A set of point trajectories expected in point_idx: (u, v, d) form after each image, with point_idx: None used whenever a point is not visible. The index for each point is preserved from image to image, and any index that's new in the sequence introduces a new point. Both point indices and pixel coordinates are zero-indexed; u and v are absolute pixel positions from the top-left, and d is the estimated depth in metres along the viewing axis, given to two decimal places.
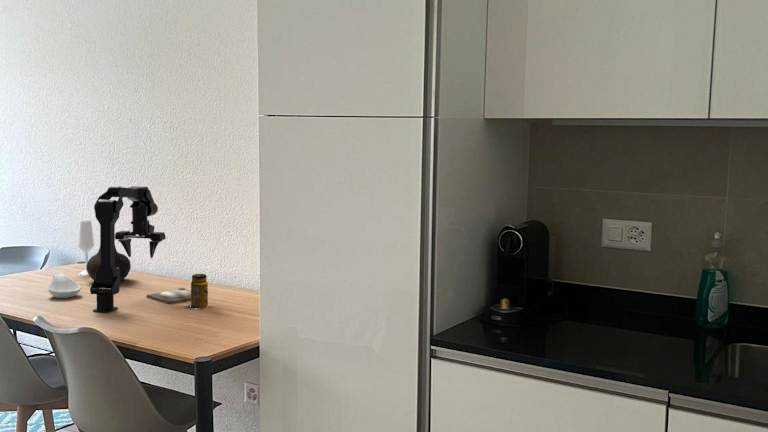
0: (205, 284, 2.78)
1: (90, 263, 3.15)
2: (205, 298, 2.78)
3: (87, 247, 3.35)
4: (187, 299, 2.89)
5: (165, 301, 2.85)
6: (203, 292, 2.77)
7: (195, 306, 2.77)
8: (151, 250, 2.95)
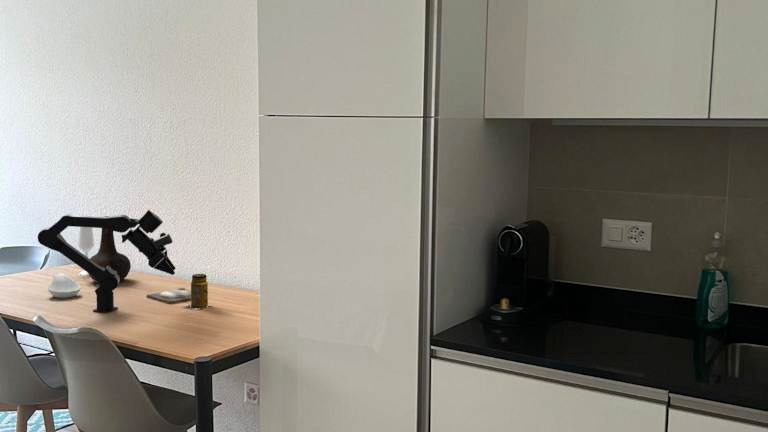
0: (205, 284, 2.78)
1: None
2: (205, 298, 2.78)
3: (87, 247, 3.35)
4: (187, 299, 2.89)
5: (165, 301, 2.85)
6: (203, 292, 2.77)
7: (195, 306, 2.77)
8: (164, 271, 2.70)
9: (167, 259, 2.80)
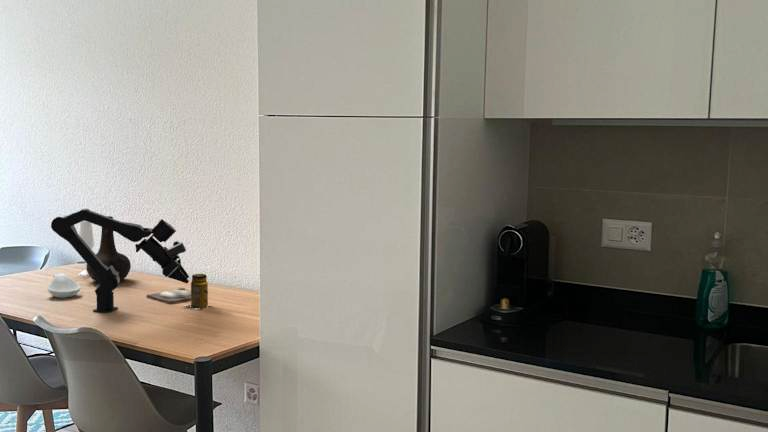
0: (205, 284, 2.78)
1: None
2: (205, 298, 2.78)
3: None
4: (187, 299, 2.89)
5: (165, 301, 2.85)
6: (203, 292, 2.77)
7: (195, 306, 2.77)
8: (178, 280, 2.72)
9: (181, 267, 2.81)
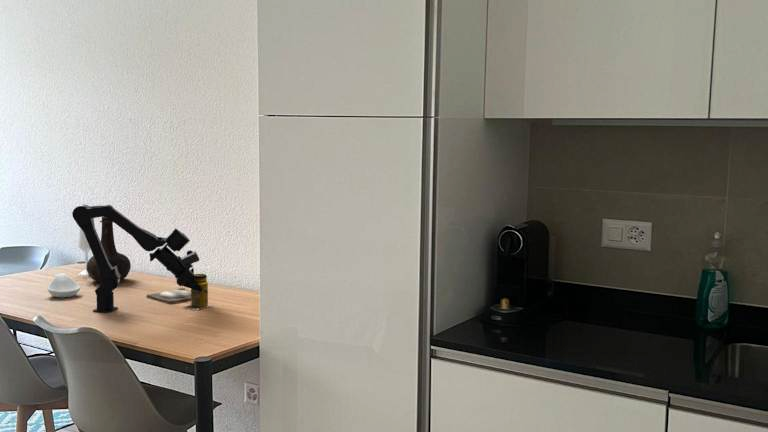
0: (205, 284, 2.78)
1: (90, 263, 3.15)
2: (205, 298, 2.78)
3: (87, 247, 3.35)
4: (187, 299, 2.89)
5: (165, 301, 2.85)
6: (203, 292, 2.77)
7: (195, 306, 2.77)
8: (191, 288, 2.75)
9: None
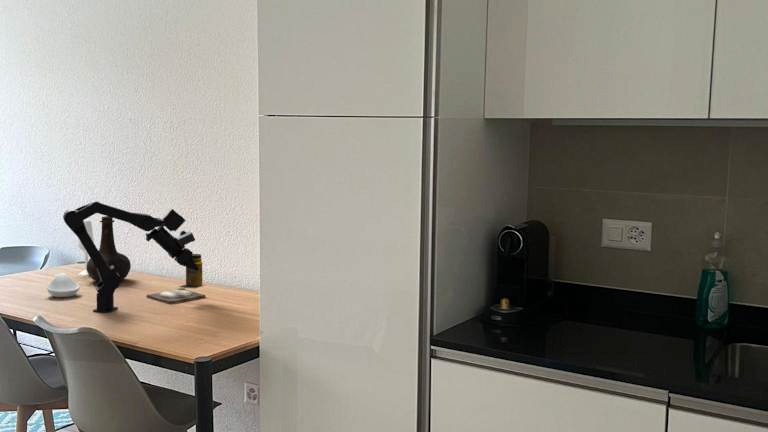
0: (201, 263, 2.83)
1: (90, 263, 3.15)
2: (201, 277, 2.84)
3: None
4: (187, 299, 2.89)
5: (165, 301, 2.85)
6: (199, 271, 2.83)
7: (191, 285, 2.82)
8: (188, 267, 2.80)
9: None
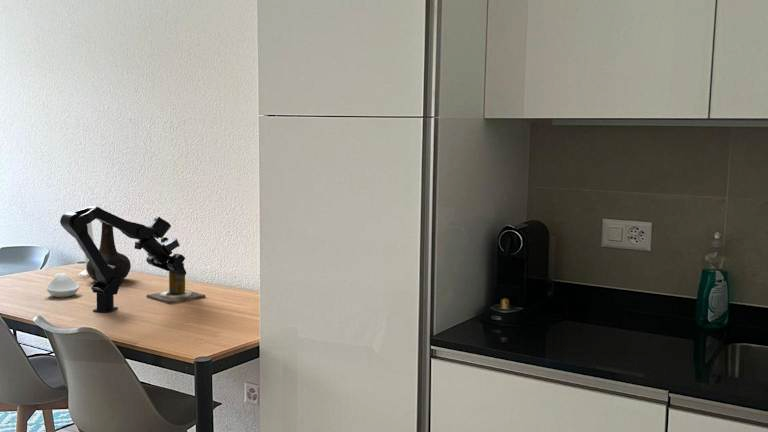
0: None
1: (90, 263, 3.15)
2: (184, 284, 2.94)
3: None
4: (187, 299, 2.89)
5: (165, 301, 2.85)
6: (184, 279, 2.93)
7: (177, 293, 2.92)
8: (179, 272, 2.88)
9: (165, 262, 2.95)
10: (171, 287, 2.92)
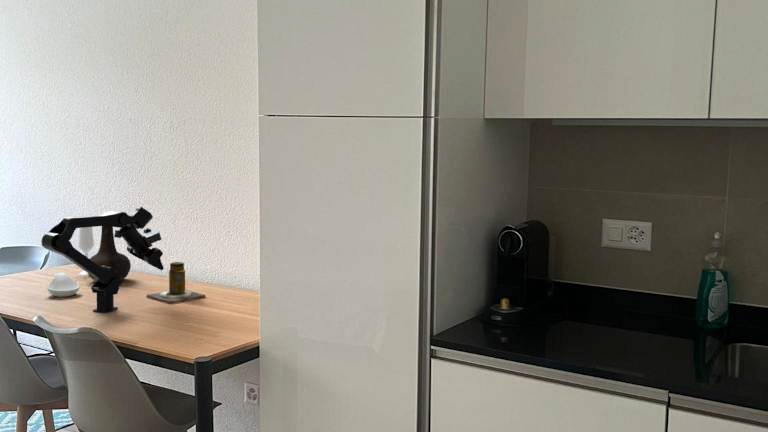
0: (184, 271, 2.94)
1: None
2: (184, 284, 2.94)
3: (87, 247, 3.35)
4: (187, 299, 2.89)
5: (165, 301, 2.85)
6: (184, 279, 2.93)
7: (177, 293, 2.92)
8: None
9: None
10: (171, 287, 2.92)
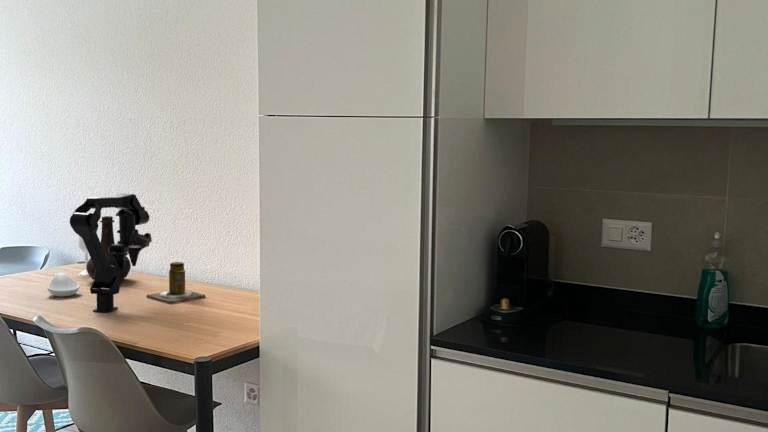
0: (184, 271, 2.94)
1: (90, 263, 3.15)
2: (184, 284, 2.94)
3: None
4: (187, 299, 2.89)
5: (165, 301, 2.85)
6: (184, 279, 2.93)
7: (177, 293, 2.92)
8: None
9: (136, 254, 2.88)
10: (171, 287, 2.92)
